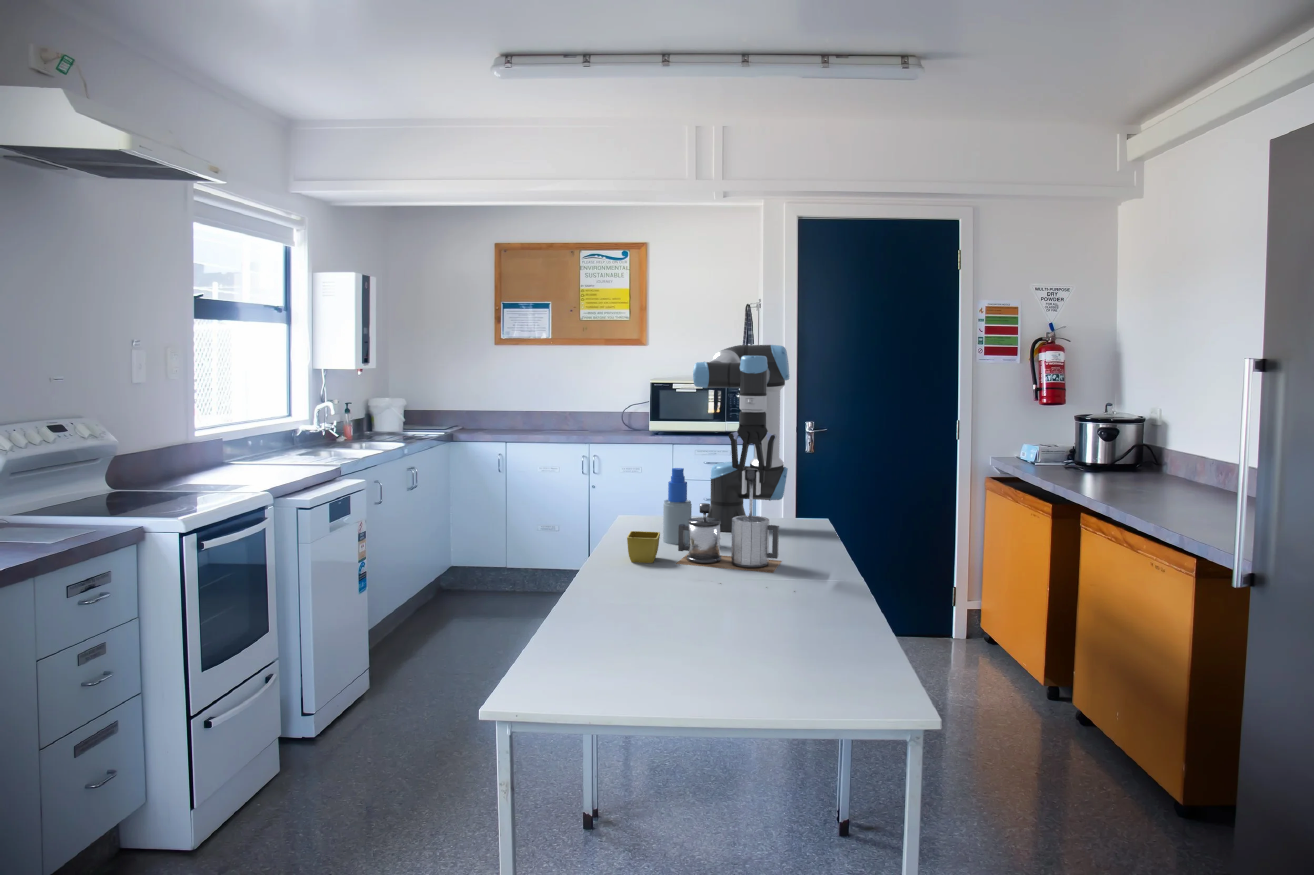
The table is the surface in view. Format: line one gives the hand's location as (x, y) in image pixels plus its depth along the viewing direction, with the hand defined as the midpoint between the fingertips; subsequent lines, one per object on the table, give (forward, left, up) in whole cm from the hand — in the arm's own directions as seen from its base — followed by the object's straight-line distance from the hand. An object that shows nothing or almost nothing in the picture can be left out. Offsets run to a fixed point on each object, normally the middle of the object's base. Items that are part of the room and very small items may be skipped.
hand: (751, 493), depth 228 cm
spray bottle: (-20, -28, -22) cm, 41 cm away
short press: (0, -15, -20) cm, 25 cm away
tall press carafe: (0, +1, -20) cm, 20 cm away
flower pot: (+6, -30, -22) cm, 38 cm away
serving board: (0, -6, -22) cm, 23 cm away
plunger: (0, 0, -12) cm, 12 cm away
